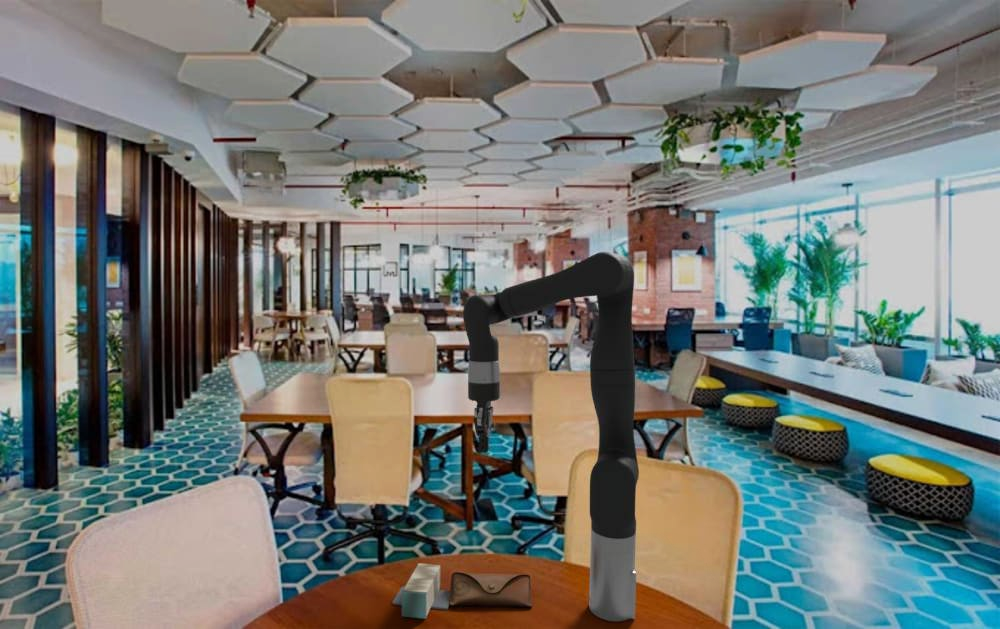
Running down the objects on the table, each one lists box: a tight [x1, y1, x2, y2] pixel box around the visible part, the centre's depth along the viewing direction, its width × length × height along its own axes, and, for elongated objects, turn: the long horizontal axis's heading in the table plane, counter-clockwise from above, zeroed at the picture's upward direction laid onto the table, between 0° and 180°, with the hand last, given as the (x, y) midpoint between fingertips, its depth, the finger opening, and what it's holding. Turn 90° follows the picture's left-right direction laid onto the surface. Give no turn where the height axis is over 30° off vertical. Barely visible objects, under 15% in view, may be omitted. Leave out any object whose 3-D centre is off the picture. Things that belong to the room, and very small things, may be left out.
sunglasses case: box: [449, 571, 533, 608], centre depth 120 cm, size 18×7×7 cm, turn 93°
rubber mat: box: [391, 586, 451, 611], centre depth 119 cm, size 12×6×1 cm, turn 82°
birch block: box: [401, 562, 441, 619], centre depth 117 cm, size 5×5×12 cm
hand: (483, 451), depth 131 cm, fingers closed
